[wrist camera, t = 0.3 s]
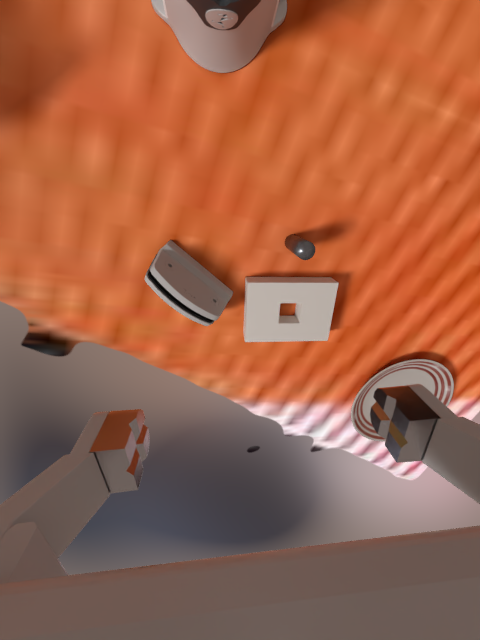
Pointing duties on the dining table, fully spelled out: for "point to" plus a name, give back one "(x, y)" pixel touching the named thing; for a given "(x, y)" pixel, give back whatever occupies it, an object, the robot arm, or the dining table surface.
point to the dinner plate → (400, 375)
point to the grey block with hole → (306, 292)
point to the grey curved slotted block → (187, 285)
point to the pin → (300, 246)
